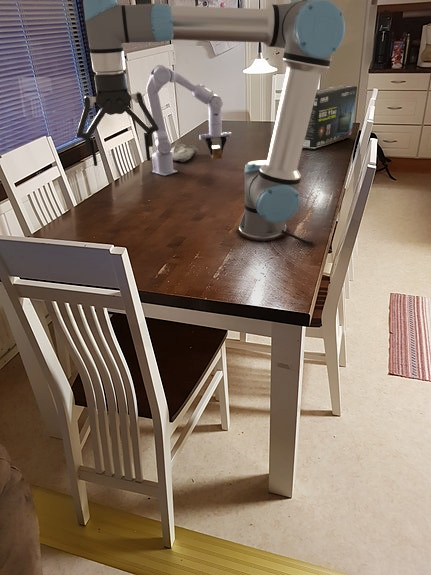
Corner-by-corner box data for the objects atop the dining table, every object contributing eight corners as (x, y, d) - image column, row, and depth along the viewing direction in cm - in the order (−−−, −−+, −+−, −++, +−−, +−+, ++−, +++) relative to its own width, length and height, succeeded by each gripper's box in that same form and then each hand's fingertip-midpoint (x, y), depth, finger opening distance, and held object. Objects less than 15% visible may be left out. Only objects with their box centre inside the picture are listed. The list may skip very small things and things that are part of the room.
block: (219, 155, 214) (218, 145, 212) (221, 158, 210) (221, 147, 208) (210, 156, 214) (210, 146, 211) (213, 159, 209) (212, 148, 207)
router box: (314, 151, 231) (318, 94, 217) (296, 148, 237) (299, 92, 224) (352, 138, 251) (358, 85, 238) (335, 135, 258) (340, 83, 245)
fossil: (184, 156, 217) (163, 136, 220) (174, 174, 223) (154, 154, 227) (205, 153, 231) (186, 134, 234) (195, 171, 237) (176, 152, 240)
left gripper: (228, 120, 209) (229, 150, 216) (197, 123, 206) (199, 153, 213) (232, 123, 203) (233, 154, 210) (200, 126, 200) (202, 157, 207)
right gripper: (160, 67, 114) (167, 153, 125) (56, 74, 109) (73, 162, 120) (164, 70, 107) (171, 161, 118) (54, 77, 103) (72, 170, 114)
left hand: (216, 154), depth 211 cm, fingers closed on block, 4 cm apart
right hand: (122, 162), depth 119 cm, fingers open, 13 cm apart
